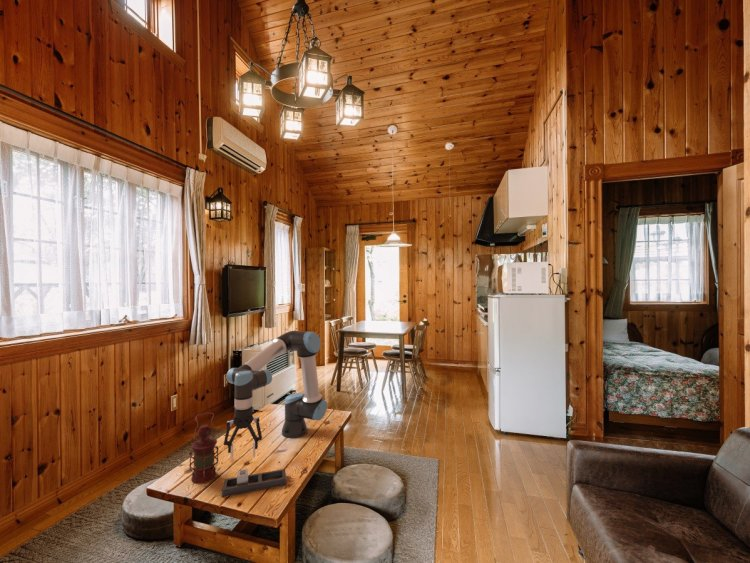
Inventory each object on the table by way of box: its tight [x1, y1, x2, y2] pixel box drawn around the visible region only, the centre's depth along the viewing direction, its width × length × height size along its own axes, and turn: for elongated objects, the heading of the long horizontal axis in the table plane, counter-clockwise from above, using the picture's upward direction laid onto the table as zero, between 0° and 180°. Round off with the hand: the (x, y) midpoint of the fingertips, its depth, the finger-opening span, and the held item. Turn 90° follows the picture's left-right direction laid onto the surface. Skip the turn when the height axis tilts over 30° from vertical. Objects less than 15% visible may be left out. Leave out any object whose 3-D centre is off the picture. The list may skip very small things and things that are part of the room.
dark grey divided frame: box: [221, 468, 287, 498], centre depth 149 cm, size 26×8×3 cm, turn 109°
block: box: [236, 468, 249, 486], centre depth 147 cm, size 4×4×7 cm
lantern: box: [189, 412, 219, 484], centre depth 156 cm, size 12×12×30 cm
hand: (243, 457), depth 147 cm, fingers open, 8 cm apart
